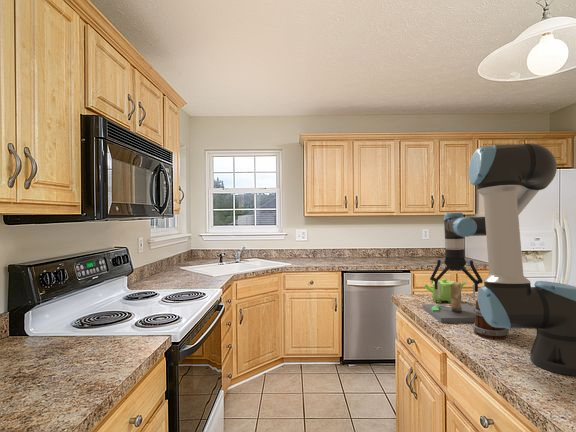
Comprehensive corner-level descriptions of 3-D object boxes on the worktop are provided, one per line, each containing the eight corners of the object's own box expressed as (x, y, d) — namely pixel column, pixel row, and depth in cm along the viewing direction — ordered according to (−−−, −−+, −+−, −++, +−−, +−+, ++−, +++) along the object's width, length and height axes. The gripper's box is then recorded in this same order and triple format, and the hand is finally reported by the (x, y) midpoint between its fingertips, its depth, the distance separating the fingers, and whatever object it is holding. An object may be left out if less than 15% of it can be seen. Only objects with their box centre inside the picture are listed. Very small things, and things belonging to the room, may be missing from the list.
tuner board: (492, 322, 140) (491, 315, 140) (441, 323, 141) (440, 316, 141) (466, 307, 161) (466, 301, 161) (422, 308, 163) (422, 302, 163)
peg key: (463, 310, 150) (462, 282, 151) (459, 313, 145) (458, 285, 145) (437, 306, 157) (436, 280, 157) (432, 310, 152) (431, 282, 152)
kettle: (468, 302, 170) (467, 280, 170) (446, 306, 165) (446, 283, 165) (443, 296, 184) (443, 275, 184) (423, 300, 178) (422, 278, 178)
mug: (462, 329, 131) (467, 290, 132) (495, 332, 134) (499, 293, 134) (485, 340, 119) (491, 296, 120) (520, 343, 122) (525, 300, 123)
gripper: (487, 248, 147) (489, 298, 146) (424, 247, 158) (426, 294, 158) (488, 249, 140) (490, 302, 140) (422, 248, 152) (424, 297, 152)
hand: (456, 298), depth 149 cm, fingers open, 13 cm apart
